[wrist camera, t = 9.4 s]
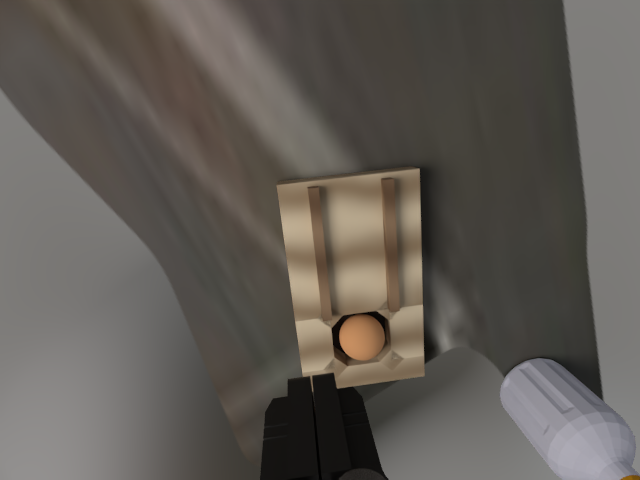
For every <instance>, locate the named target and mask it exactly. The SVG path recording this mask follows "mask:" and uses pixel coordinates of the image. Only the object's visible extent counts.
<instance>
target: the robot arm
mask: <svg viewBox="0 0 640 480" xmlns="http://www.w3.org/2000/svg"><path fill="white" fill-rule="evenodd" d="M312 382H313V392H312V385H311V378H310V376H306V377H300V378H293V379H288V396H287V397H281V398H274V399H273V400H272V401H271V403H270V405H269V407H268V408H267V410H266V412H265V424H264V427H265V429H264V437H263V438H264V441H263V450H262V463H261V476H260V480H388V478H387V477H386V476H385V474H384V472H383V470H382V467H381V464H380V461H379V457H378V453H377V449H376V446H375V442H374V439H373V435H372V431H371V428H370V424H369V420H368V417H367V413H366V409H365V406H364V402H363V398H362V396H361V395H360V394H359V393H358V392H357V391H356V390H355V389H354V388H353V386H352V387H345V388H339V389H337V387H336V381H335V376H334V372H332V373H325V374H319V375H312ZM313 393H314V399H313ZM314 403H315V406H314Z"/></svg>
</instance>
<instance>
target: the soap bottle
mask: <svg viewBox="0 0 640 480" xmlns="http://www.w3.org/2000/svg"><path fill="white" fill-rule="evenodd" d="M500 399H501V403H502V406H503V407H504V409H505V410H506V411H507V412H508V414H509V415H510V416H511V418H512V419H513V420H514V421H515V422H516V424H517V425H518V427H519V428H520V429H521V431H522V432H523V433H524V435H525V436H526V437H527V438H528V440H529V441H530V442H531V444H532V445H533V446H534V447H535V449H536V450H537V451H538V453H539V454H540V455H541V456H542V458H543V459H544V460H545V462H546V463H547V464H548V466H549V467H550V468H551V469H552V470H553V472H554V473H555V474H556V475H557V476H558V477H560V478H561V479H563V480H640V475H639V474H638V473H637V472H636V471H635V470H634V469H633V468H632V467H631V466H632V464H633V460H634V457H635V450H636V444H635V436H634V435H633V433H632V431H631V429H630V428H629V426H628V425H627V424H626V422H625V421H624V419H623V418H622V417H620V416H619V415H618V414H617V413H616V412H615V411H614V410H613V409H611V408H610V407H609V406H608V405H607V404H606V403H604V402H603V401H602V400H601V399H600V398H599V397H598V396H596V395H595V394H594V393H593V392H592V391H591V390H589V389H588V388H587V387H586V386H585V385H584V384H583V383H581V382H580V381H579V380H578V379H577V378H576V377H574V376H573V375H572V374H571V373H570V372H569V371H568V370H566V369H565V368H564V367H563V366H562V365H560V364H559V363H557V362H555V361H553V360H551V359H543V358H536V359H531V360H526V361H525V362H523V363H521V364H519V365H517V366H515V367H514V368H513V369H512V370H511V371H510V372H509V373H508V374H507V375H506V377H505V379H504V381H503V382H502V384H501V389H500Z"/></svg>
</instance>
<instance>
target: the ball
mask: <svg viewBox="0 0 640 480" xmlns="http://www.w3.org/2000/svg"><path fill="white" fill-rule="evenodd" d="M339 340H340V344H341V347H342V348H343V350H344V352H345V353H346V354H347V355H348V356H350V357H351V358H353V359H356V360H362V361H364V360H369V359H372V358H374V357H375V356H377V355H378V354H379V353H380V351H381V350H382V348H383V345H384V341H385V334H384V330H383V328H382V326H381V324H380V323H379V322H378V321H377V320H376V319H375V318H374V317H372V316H370V315H367V314H356V315H353V316H351V317H349V318H348V319H347V320H346V321H345V322H344V323H343V325H342V327H341V329H340V334H339Z"/></svg>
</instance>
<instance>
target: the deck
mask: <svg viewBox="0 0 640 480" xmlns="http://www.w3.org/2000/svg"><path fill="white" fill-rule="evenodd" d="M277 191H278V198H279V205H280V212H281V220H282V227H283V234H284V242H285V249H286V256H287V264H288V271H289V278H290V285H291V293H292V300H293V307H294V315H295V322H296V329H297V336H298V344H299V351H300V358H301V366H302V373H303V377H306V376H310V378H311V385H312V392H313V382H312V375H319V374H325V373H332V372H334V376H335V381H336V387H337V388H344V387H351V386H358V385H365V384H372V383H379V382H386V381H393V380H400V379H407V378H414V377H421V376H424V332H423V289H422V247H421V204H420V169H419V168H415V167H412V166H410V167H401V168H392V169H384V170H375V171H366V172H357V173H349V174H340V175H331V176H322V177H314V178H305V179H296V180H287V181H279V182H277ZM371 311H377V312H379V313H380V314H381V315H383V316H384V317H385V333H386V338H385V341H384V345H383V348H382V350H381V351H380V353H379V354H378V355H377V356H375V357H374V358H372V359H369V360H364V361H362V360H356V359H353V358H351V357H350V356H348V355H347V354H344V353H343V352H341V351H340V350H338V349H337V348H335V347H334V346H333V340H332V331H331V328H332V327H333V326H334V325H335V324H336V323H337V321H338V320H339V319H340V318H341V317H342V316H343V315H349V314H356V313H364V312H371Z"/></svg>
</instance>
